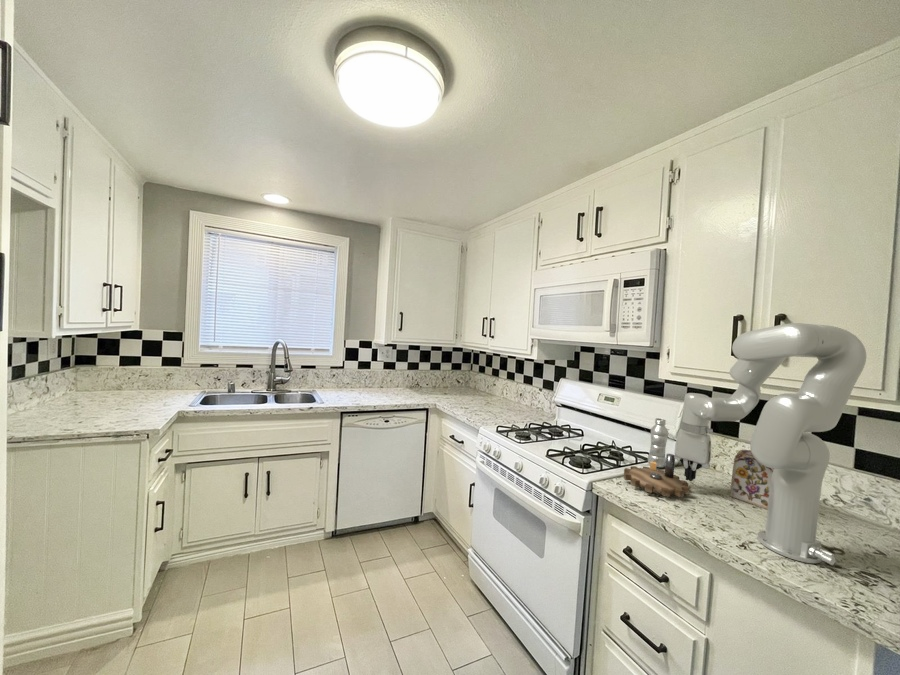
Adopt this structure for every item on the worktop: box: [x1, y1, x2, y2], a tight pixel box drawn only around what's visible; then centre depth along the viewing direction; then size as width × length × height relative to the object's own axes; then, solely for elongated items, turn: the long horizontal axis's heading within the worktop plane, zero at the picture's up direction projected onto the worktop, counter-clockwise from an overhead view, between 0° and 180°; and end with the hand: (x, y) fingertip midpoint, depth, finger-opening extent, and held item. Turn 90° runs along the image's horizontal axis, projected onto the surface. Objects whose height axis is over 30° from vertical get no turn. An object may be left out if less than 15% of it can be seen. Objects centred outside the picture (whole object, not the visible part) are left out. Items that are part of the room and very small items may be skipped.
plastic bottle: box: [647, 417, 669, 468], centre depth 149 cm, size 6×7×20 cm
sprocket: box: [623, 453, 691, 498], centre depth 128 cm, size 21×21×10 cm
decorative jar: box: [729, 449, 774, 511], centre depth 123 cm, size 12×12×18 cm
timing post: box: [649, 461, 657, 470], centre depth 139 cm, size 2×2×5 cm
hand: (689, 479), depth 125 cm, fingers closed
